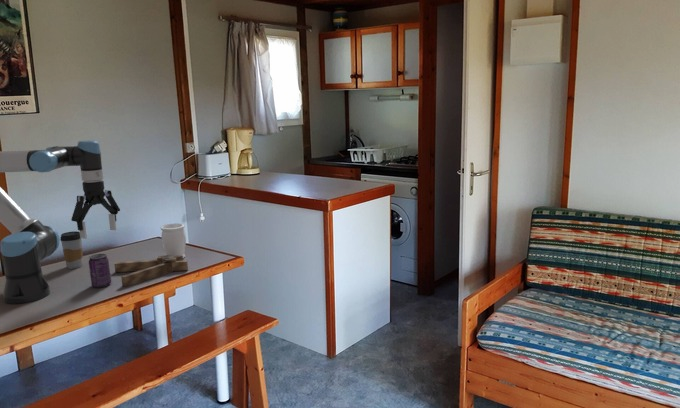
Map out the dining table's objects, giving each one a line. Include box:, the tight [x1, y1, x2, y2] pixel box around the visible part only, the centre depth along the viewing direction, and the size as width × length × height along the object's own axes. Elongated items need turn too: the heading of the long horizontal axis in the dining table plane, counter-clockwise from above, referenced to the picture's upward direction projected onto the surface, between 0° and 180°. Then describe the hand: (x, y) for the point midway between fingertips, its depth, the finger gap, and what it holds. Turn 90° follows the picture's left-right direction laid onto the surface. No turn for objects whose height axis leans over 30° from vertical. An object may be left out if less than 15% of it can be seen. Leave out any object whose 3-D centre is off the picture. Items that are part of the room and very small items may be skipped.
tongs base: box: [120, 255, 184, 288], centre depth 217 cm, size 30×6×4 cm, turn 143°
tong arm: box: [114, 254, 189, 273], centre depth 222 cm, size 30×6×5 cm, turn 98°
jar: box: [160, 222, 187, 259], centre depth 238 cm, size 11×10×15 cm
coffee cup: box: [59, 230, 84, 270], centre depth 230 cm, size 8×8×15 cm
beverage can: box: [88, 253, 112, 288], centre depth 206 cm, size 7×7×12 cm
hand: (98, 234), depth 208 cm, fingers open, 13 cm apart
